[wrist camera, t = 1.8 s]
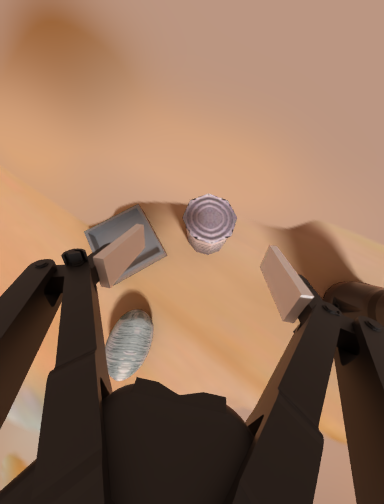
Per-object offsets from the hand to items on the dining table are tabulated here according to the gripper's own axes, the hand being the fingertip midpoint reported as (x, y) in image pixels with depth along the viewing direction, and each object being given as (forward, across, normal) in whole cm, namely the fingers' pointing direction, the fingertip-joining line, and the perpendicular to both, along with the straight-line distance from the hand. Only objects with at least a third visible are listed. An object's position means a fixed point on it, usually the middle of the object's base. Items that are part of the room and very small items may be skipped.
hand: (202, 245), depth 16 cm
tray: (+21, -21, -15) cm, 34 cm away
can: (+26, +1, -11) cm, 28 cm away
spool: (+5, -12, -32) cm, 35 cm away
